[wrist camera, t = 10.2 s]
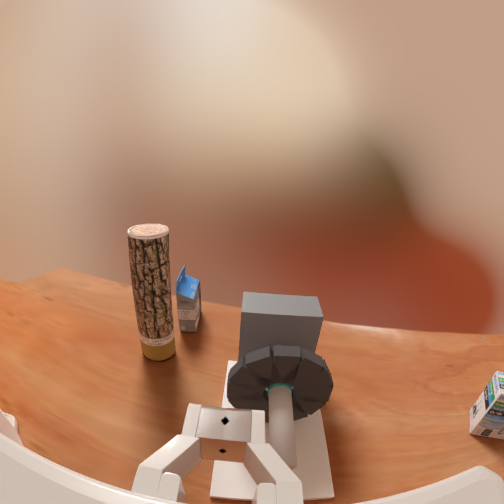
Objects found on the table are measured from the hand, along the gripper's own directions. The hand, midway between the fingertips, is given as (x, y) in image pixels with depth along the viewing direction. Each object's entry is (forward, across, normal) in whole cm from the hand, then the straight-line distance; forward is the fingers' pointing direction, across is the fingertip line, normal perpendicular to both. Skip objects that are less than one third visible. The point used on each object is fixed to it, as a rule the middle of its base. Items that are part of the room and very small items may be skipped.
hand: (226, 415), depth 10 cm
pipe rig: (+20, -6, +29) cm, 36 cm away
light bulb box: (+12, -48, +28) cm, 57 cm away
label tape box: (+47, +11, +30) cm, 57 cm away
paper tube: (+35, +15, +30) cm, 49 cm away
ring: (+20, -6, +27) cm, 34 cm away
